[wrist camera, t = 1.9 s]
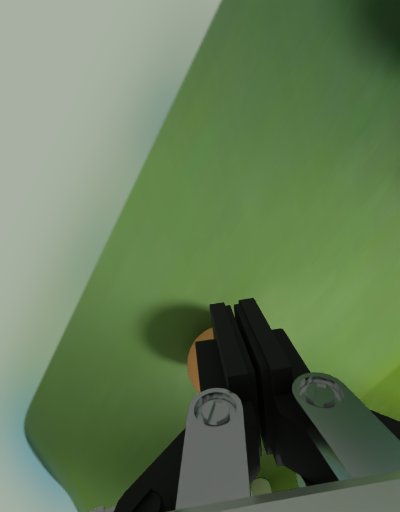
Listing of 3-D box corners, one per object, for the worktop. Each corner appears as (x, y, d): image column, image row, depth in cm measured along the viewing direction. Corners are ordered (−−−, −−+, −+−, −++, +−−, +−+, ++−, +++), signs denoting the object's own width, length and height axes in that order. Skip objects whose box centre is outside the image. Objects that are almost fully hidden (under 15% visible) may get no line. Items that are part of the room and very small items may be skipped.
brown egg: (263, 344, 28) (285, 392, 22) (213, 380, 29) (221, 434, 23) (225, 300, 26) (238, 339, 21) (172, 339, 27) (171, 387, 22)
